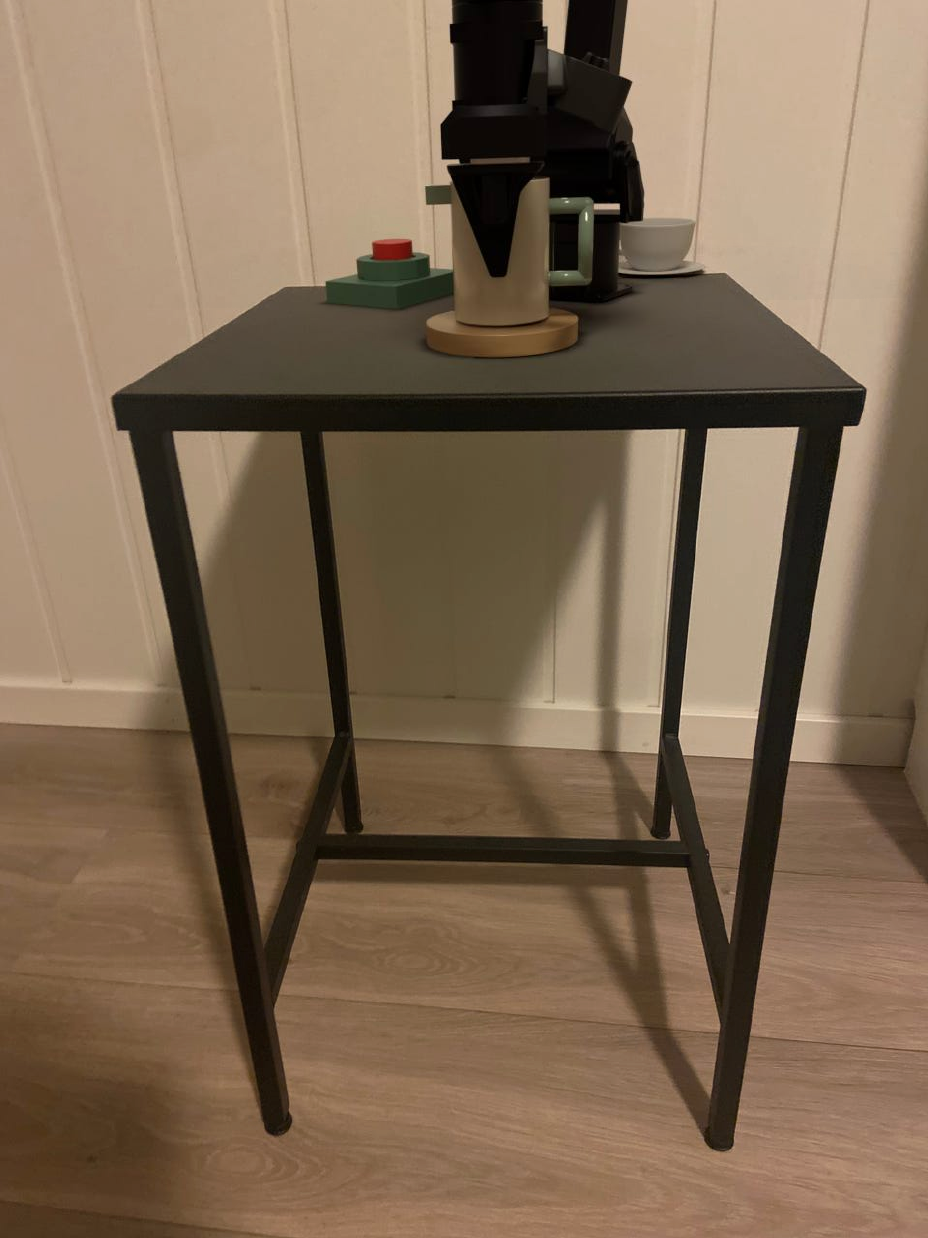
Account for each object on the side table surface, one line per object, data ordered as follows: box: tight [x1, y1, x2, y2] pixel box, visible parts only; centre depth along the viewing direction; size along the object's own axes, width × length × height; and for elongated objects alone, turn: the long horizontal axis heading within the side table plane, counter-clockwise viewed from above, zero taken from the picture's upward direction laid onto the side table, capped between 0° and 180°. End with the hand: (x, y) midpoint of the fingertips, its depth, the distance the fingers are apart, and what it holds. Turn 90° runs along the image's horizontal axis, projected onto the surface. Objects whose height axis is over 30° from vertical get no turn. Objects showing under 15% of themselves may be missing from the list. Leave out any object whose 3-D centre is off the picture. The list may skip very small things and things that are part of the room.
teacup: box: [618, 217, 706, 276], centre depth 93 cm, size 10×10×5 cm
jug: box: [424, 176, 595, 326], centre depth 65 cm, size 11×7×9 cm, turn 86°
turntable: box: [425, 307, 579, 359], centre depth 68 cm, size 11×11×2 cm
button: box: [371, 238, 413, 260], centre depth 85 cm, size 4×4×2 cm
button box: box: [325, 251, 454, 310], centre depth 86 cm, size 10×8×4 cm
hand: (500, 269), depth 66 cm, fingers closed on jug, 7 cm apart
